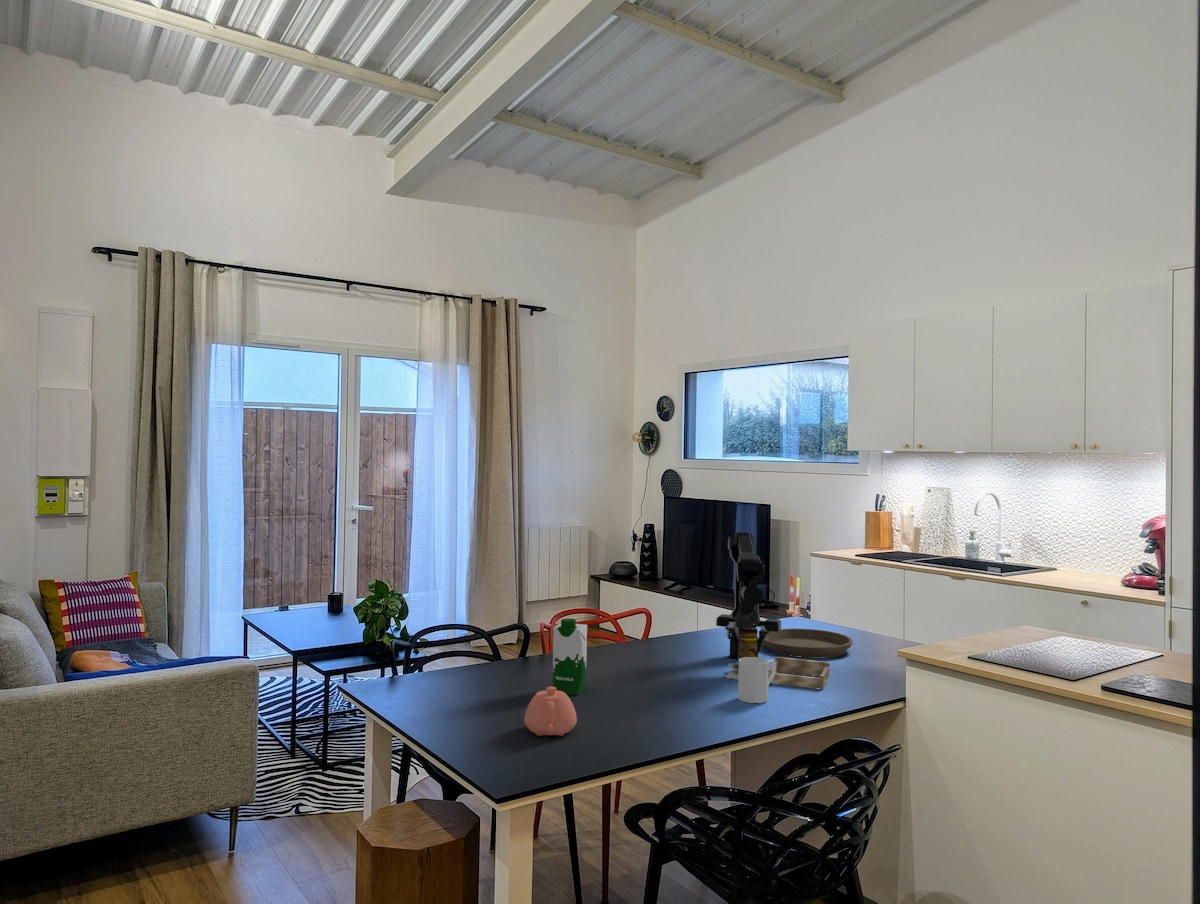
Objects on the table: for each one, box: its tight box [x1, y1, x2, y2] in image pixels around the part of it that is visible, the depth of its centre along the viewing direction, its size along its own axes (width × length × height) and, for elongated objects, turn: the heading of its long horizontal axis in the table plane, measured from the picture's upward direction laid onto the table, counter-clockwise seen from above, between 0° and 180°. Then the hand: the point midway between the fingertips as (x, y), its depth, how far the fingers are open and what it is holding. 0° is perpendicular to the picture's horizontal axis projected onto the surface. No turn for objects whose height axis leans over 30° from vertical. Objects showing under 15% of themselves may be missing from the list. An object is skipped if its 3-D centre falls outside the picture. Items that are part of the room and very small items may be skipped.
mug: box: [737, 657, 776, 704], centre depth 220 cm, size 12×8×10 cm, turn 125°
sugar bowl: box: [523, 686, 578, 737], centre depth 190 cm, size 12×14×10 cm
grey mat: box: [725, 668, 739, 680], centre depth 246 cm, size 10×14×1 cm
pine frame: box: [768, 656, 831, 690], centre depth 240 cm, size 16×15×4 cm
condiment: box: [728, 627, 759, 671], centre depth 246 cm, size 7×8×12 cm
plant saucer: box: [763, 628, 854, 658], centre depth 281 cm, size 31×31×5 cm
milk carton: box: [552, 618, 588, 697], centre depth 224 cm, size 9×9×20 cm
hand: (748, 651), depth 246 cm, fingers closed on condiment, 6 cm apart
